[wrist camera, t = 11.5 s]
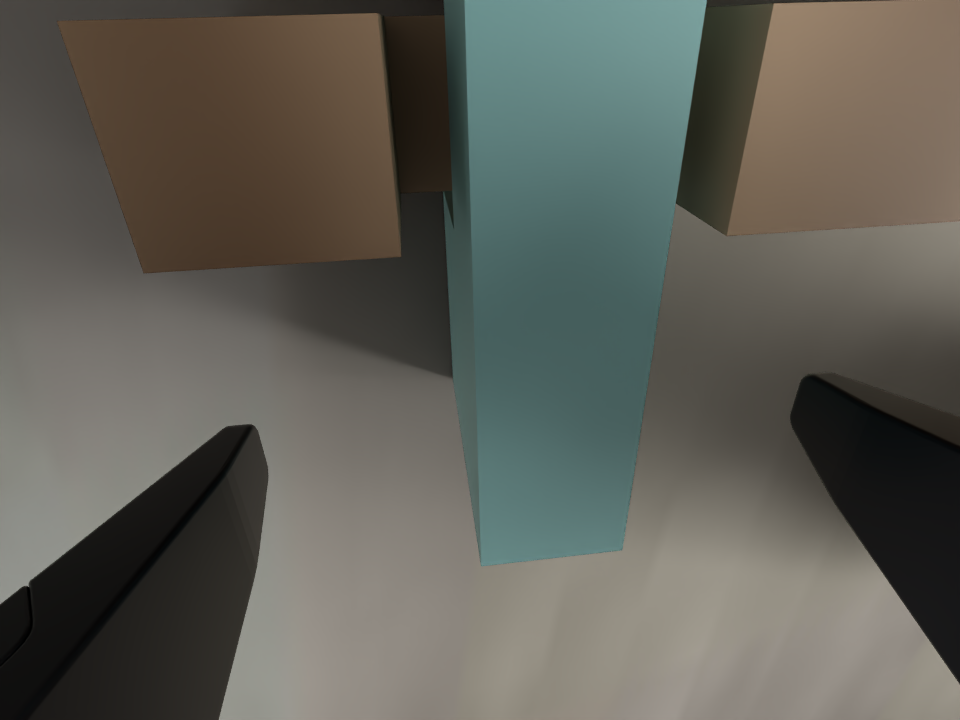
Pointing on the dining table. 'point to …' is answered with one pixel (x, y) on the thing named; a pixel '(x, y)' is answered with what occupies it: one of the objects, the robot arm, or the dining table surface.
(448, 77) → the teal notched plate
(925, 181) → the walnut slotted board
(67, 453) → the dining table surface
